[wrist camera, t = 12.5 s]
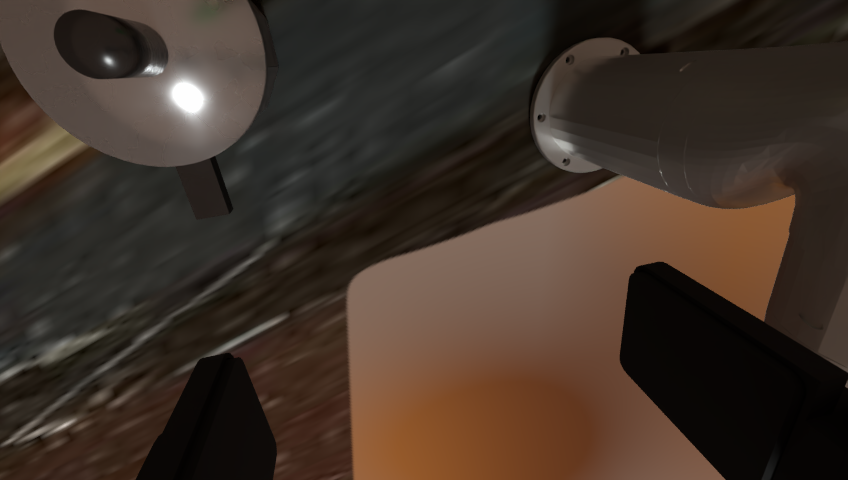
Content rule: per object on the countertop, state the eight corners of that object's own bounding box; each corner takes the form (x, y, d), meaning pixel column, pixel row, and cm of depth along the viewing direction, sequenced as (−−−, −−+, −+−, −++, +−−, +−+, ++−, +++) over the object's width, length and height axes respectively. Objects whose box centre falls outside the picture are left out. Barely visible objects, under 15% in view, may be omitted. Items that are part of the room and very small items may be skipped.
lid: (227, -102, 22) (190, -158, 17) (292, 146, 28) (280, 165, 22) (-51, -81, 20) (-194, -135, 15) (80, 178, 26) (12, 207, 21)
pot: (21, -127, 26) (-104, -204, 18) (227, -140, 27) (185, -215, 20) (161, 202, 35) (115, 236, 28) (307, 178, 37) (298, 205, 30)
